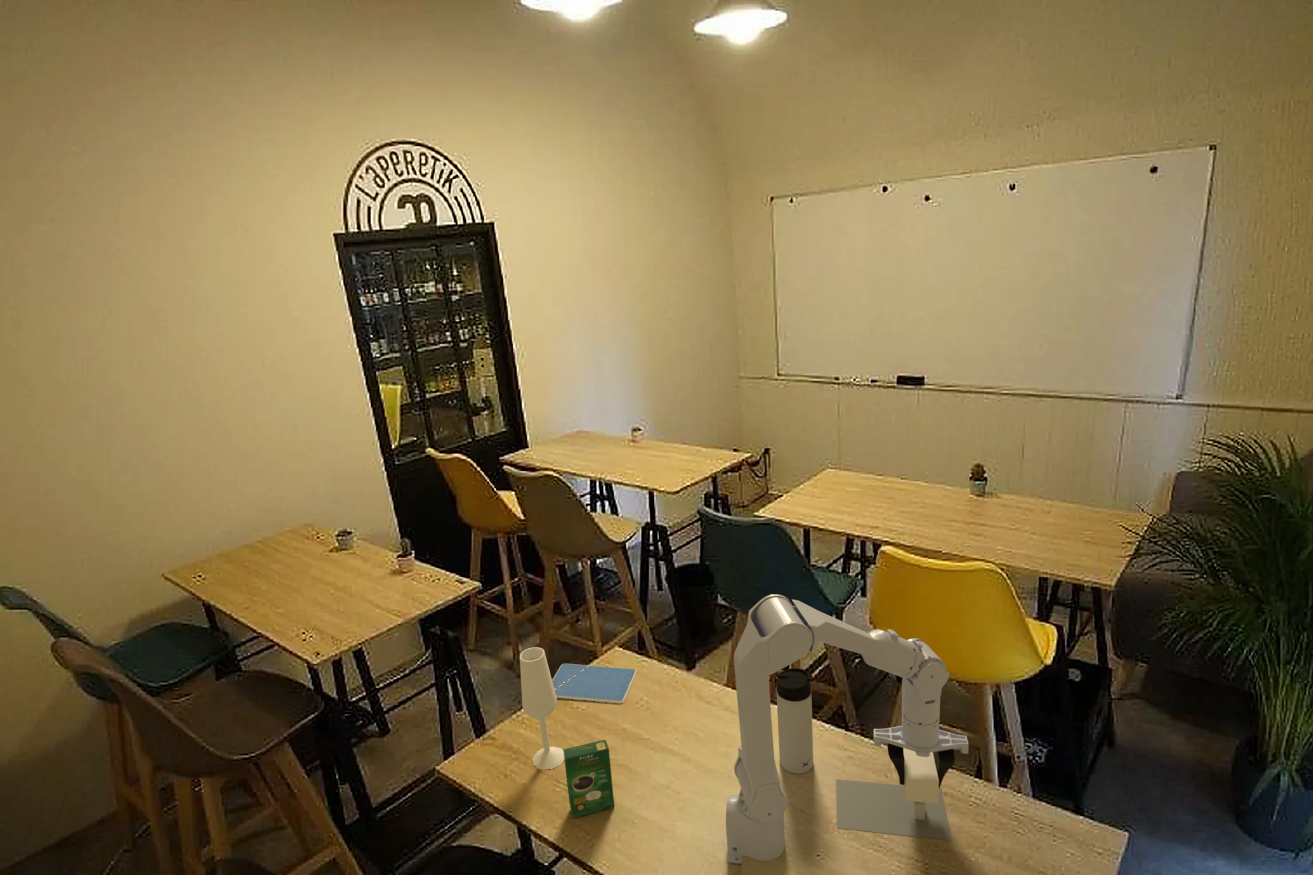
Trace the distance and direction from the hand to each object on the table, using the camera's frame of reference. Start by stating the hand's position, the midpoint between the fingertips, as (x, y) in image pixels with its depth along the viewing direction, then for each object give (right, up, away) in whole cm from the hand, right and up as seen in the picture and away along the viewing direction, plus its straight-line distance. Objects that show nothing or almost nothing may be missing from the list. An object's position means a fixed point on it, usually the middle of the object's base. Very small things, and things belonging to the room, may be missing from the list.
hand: (919, 782), depth 117 cm
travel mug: (-17, -5, +15) cm, 24 cm away
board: (-4, -7, +3) cm, 8 cm away
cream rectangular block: (0, -1, 0) cm, 1 cm away
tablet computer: (-59, 0, +45) cm, 75 cm away
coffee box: (-56, -10, +10) cm, 57 cm away
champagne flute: (-66, -7, +23) cm, 70 cm away
